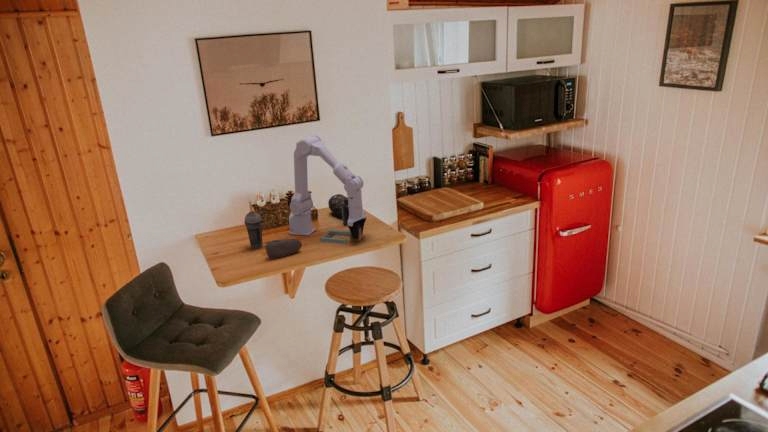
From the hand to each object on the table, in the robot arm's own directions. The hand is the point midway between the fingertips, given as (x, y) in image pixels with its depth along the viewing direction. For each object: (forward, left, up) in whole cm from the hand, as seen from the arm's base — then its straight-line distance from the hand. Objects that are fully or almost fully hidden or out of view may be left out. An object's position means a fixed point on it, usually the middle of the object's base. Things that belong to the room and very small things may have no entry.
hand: (357, 236), depth 223 cm
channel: (-9, 0, -2) cm, 10 cm away
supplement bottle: (-11, +19, -2) cm, 22 cm away
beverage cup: (-39, -16, -2) cm, 43 cm away
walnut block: (-1, 0, -1) cm, 2 cm away
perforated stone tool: (-23, -21, -2) cm, 32 cm away
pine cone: (-19, +28, -2) cm, 34 cm away
